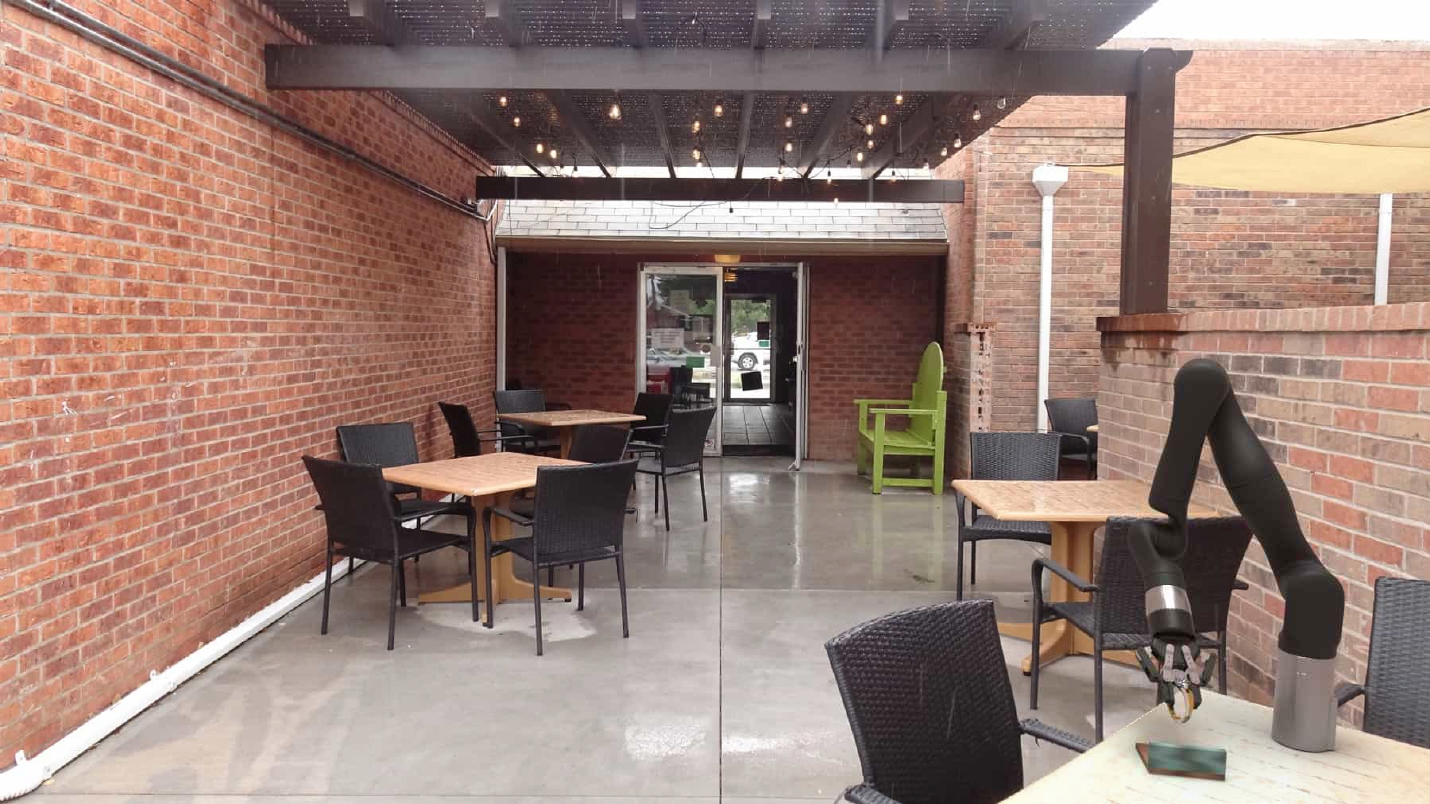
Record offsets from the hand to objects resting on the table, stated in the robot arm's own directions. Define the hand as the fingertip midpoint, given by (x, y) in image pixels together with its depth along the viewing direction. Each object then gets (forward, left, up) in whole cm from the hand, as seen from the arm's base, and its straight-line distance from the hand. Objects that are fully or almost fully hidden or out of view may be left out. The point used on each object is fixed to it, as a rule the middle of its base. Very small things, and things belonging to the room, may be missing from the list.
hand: (1183, 705), depth 166 cm
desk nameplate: (0, -1, -11) cm, 11 cm away
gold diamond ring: (0, -3, -4) cm, 5 cm away
